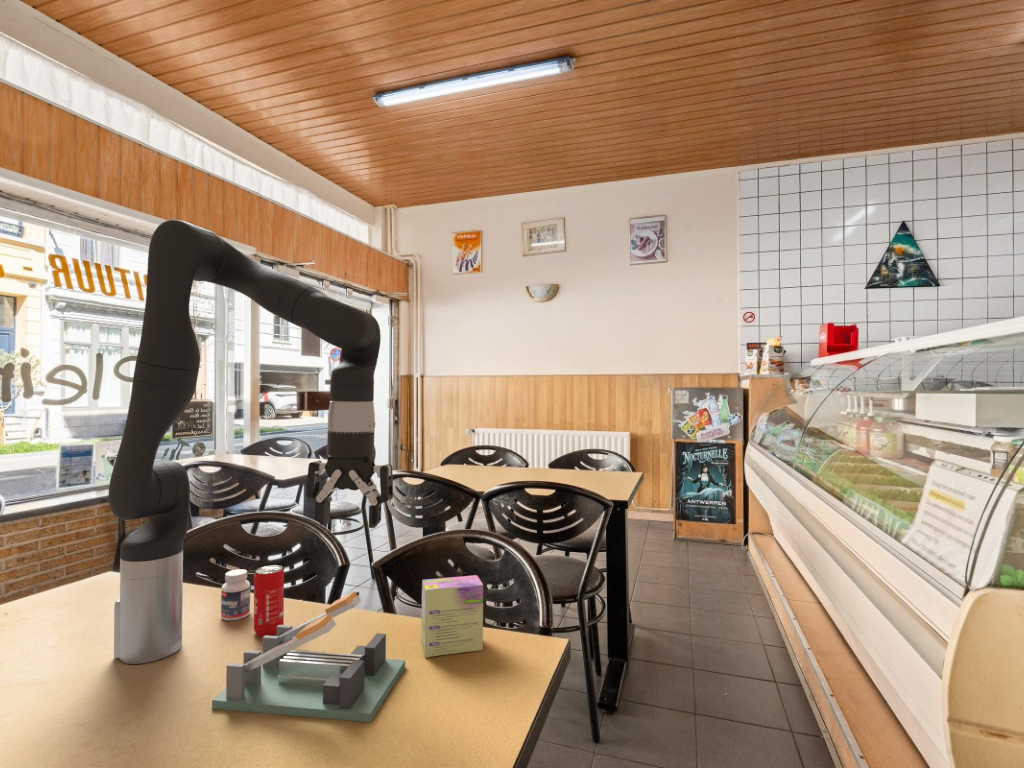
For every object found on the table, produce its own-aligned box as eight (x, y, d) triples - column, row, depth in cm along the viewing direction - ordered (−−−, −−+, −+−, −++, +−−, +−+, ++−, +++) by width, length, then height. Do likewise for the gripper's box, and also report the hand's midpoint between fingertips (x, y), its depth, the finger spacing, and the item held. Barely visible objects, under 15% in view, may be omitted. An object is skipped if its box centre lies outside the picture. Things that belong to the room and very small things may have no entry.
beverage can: (272, 639, 100) (272, 574, 100) (247, 636, 101) (248, 572, 101) (289, 627, 105) (289, 565, 105) (265, 625, 106) (265, 563, 106)
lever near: (235, 679, 79) (229, 668, 79) (250, 667, 83) (244, 656, 83) (326, 634, 77) (321, 622, 78) (338, 623, 81) (332, 611, 81)
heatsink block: (278, 683, 83) (278, 661, 83) (292, 669, 87) (292, 649, 87) (352, 689, 81) (352, 667, 81) (363, 675, 85) (363, 654, 85)
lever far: (270, 650, 88) (265, 639, 88) (282, 640, 92) (277, 630, 92) (353, 609, 86) (348, 598, 86) (362, 600, 90) (357, 589, 90)
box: (476, 636, 101) (476, 573, 102) (483, 650, 96) (483, 584, 96) (420, 643, 98) (421, 578, 99) (424, 658, 93) (425, 590, 93)
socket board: (211, 708, 78) (212, 666, 78) (271, 657, 93) (271, 622, 93) (370, 722, 75) (370, 679, 75) (405, 667, 90) (405, 631, 90)
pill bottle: (214, 619, 108) (215, 575, 108) (233, 609, 113) (234, 567, 113) (237, 622, 107) (237, 577, 107) (255, 611, 112) (255, 569, 112)
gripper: (299, 428, 87) (297, 528, 87) (383, 431, 85) (381, 534, 85) (322, 425, 95) (320, 517, 95) (400, 428, 93) (397, 522, 93)
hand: (349, 525), depth 90 cm, fingers open, 8 cm apart
